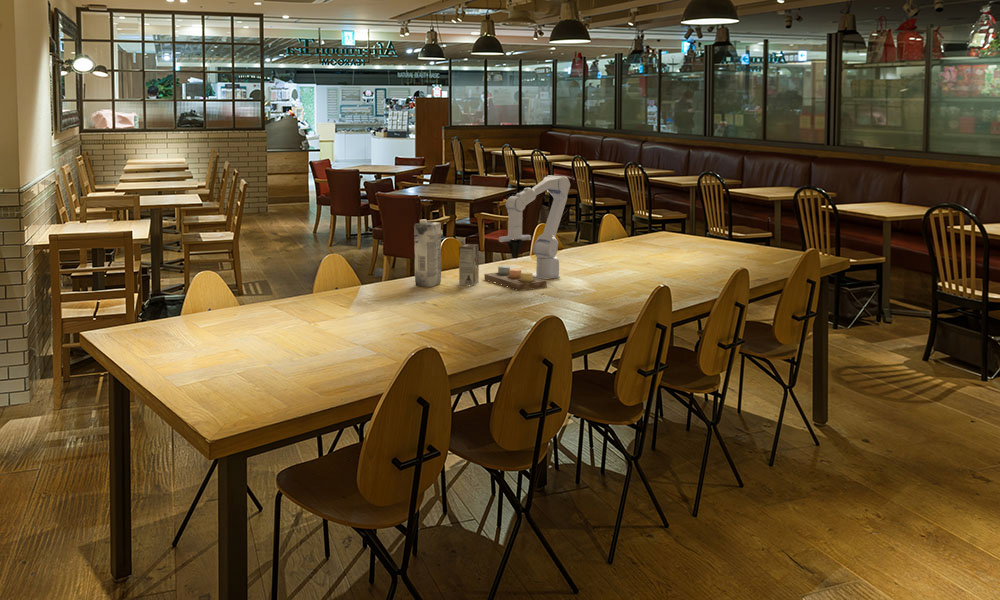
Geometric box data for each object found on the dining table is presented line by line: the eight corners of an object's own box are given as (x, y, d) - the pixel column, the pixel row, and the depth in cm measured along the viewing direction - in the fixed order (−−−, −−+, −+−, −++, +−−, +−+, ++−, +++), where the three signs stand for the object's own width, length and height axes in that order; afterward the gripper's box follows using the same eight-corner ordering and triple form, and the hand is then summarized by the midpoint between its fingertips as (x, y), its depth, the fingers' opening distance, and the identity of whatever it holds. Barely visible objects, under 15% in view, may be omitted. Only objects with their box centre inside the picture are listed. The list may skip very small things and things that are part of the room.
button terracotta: (516, 276, 371) (516, 268, 370) (523, 278, 367) (523, 270, 366) (506, 277, 368) (506, 269, 367) (513, 279, 364) (513, 271, 363)
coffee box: (464, 281, 371) (464, 243, 368) (478, 281, 370) (479, 244, 367) (458, 285, 363) (458, 246, 359) (474, 286, 361) (474, 247, 358)
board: (511, 276, 382) (512, 270, 382) (546, 286, 361) (546, 280, 360) (484, 279, 375) (484, 273, 374) (518, 290, 354) (518, 284, 353)
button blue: (505, 273, 378) (505, 265, 377) (512, 275, 374) (512, 267, 373) (495, 274, 375) (496, 266, 374) (502, 276, 371) (502, 268, 370)
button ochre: (528, 279, 364) (528, 272, 363) (535, 281, 360) (535, 273, 359) (518, 281, 361) (518, 273, 360) (524, 283, 357) (525, 275, 356)
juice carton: (443, 283, 366) (443, 218, 360) (431, 288, 356) (430, 221, 351) (425, 281, 369) (424, 217, 364) (412, 286, 360) (411, 220, 354)
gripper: (524, 223, 371) (524, 255, 374) (495, 225, 363) (494, 258, 366) (534, 225, 365) (533, 257, 368) (504, 227, 357) (503, 260, 360)
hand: (514, 258), depth 367 cm, fingers closed
